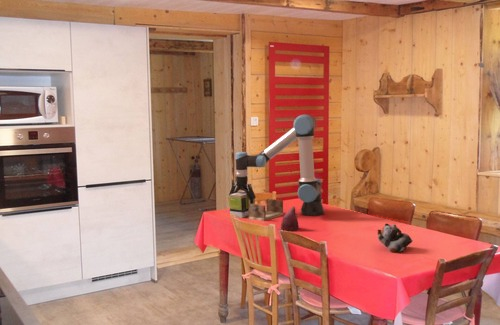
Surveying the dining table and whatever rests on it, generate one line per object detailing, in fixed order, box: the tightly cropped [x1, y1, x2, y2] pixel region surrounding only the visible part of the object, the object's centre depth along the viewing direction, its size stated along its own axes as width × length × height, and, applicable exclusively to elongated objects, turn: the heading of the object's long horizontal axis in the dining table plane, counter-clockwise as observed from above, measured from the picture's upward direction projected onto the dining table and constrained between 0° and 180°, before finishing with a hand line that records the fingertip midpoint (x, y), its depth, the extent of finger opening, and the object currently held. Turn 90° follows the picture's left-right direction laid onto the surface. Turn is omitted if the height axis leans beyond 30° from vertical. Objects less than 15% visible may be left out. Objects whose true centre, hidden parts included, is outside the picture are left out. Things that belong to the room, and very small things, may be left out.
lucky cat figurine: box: [377, 223, 413, 254], centre depth 269 cm, size 15×12×14 cm
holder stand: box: [248, 198, 284, 222], centre depth 349 cm, size 12×23×10 cm, turn 143°
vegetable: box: [280, 206, 300, 232], centre depth 315 cm, size 10×10×15 cm
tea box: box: [228, 190, 256, 219], centre depth 356 cm, size 15×10×15 cm
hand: (242, 208), depth 356 cm, fingers open, 13 cm apart
